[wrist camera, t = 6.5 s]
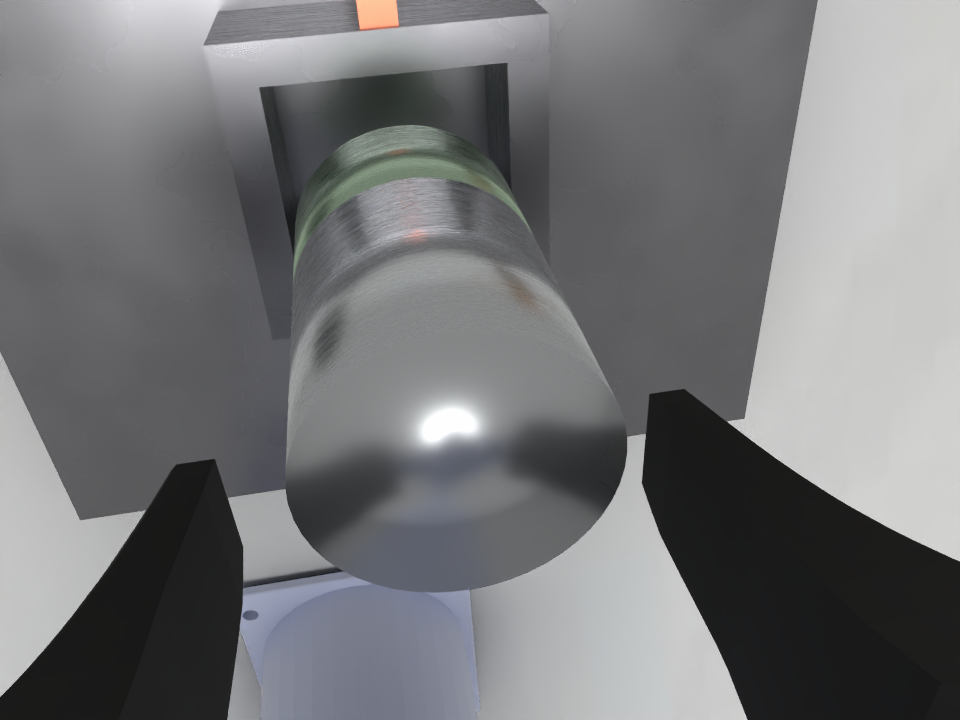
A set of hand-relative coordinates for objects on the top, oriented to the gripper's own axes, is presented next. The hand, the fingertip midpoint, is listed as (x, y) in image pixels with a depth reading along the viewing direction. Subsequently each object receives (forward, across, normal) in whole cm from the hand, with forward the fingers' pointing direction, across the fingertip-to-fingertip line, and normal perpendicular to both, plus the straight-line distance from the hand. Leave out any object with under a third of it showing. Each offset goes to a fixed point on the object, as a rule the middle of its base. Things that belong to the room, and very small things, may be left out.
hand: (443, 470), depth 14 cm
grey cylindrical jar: (+3, 0, -3) cm, 4 cm away
